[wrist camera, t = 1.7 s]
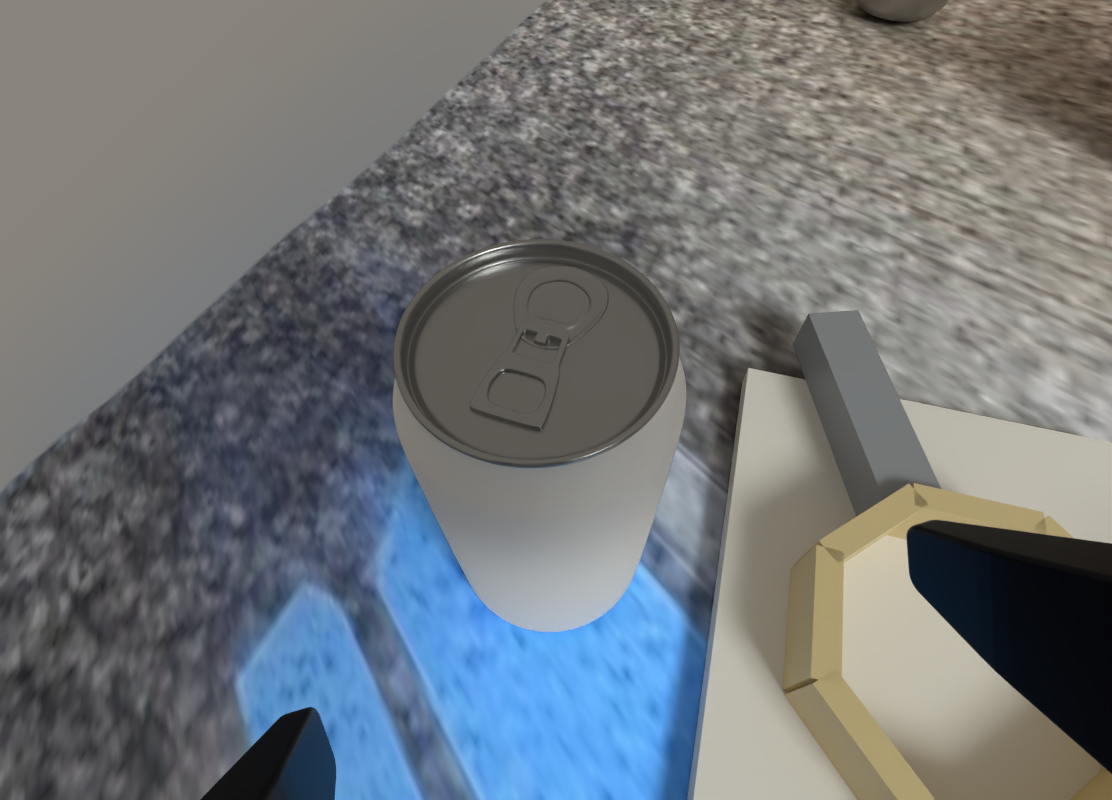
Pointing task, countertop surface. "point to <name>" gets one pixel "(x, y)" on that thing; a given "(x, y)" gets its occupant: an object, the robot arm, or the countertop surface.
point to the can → (541, 422)
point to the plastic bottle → (902, 9)
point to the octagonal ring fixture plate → (875, 592)
